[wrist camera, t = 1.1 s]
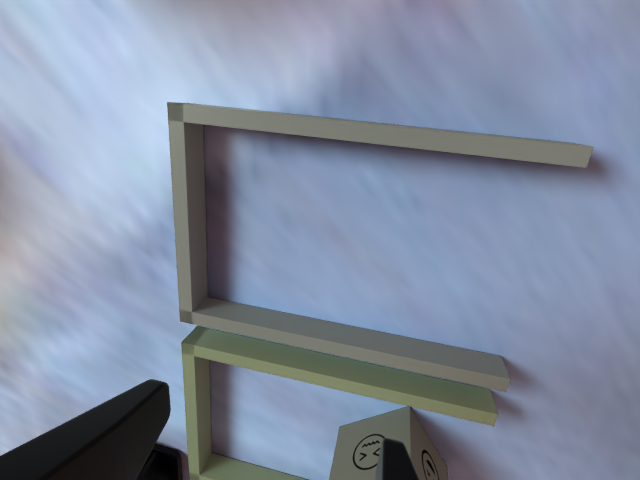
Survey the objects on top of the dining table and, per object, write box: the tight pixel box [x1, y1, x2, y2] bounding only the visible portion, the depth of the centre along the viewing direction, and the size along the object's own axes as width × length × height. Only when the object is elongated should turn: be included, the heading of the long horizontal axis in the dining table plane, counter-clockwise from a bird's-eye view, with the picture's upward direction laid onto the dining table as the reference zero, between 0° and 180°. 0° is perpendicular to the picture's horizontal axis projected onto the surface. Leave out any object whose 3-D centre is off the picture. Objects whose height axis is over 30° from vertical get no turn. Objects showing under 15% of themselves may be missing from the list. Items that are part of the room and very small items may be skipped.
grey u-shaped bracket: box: [181, 326, 498, 480], centre depth 23 cm, size 12×18×2 cm, turn 85°
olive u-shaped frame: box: [167, 102, 594, 392], centre depth 18 cm, size 12×18×2 cm, turn 85°
